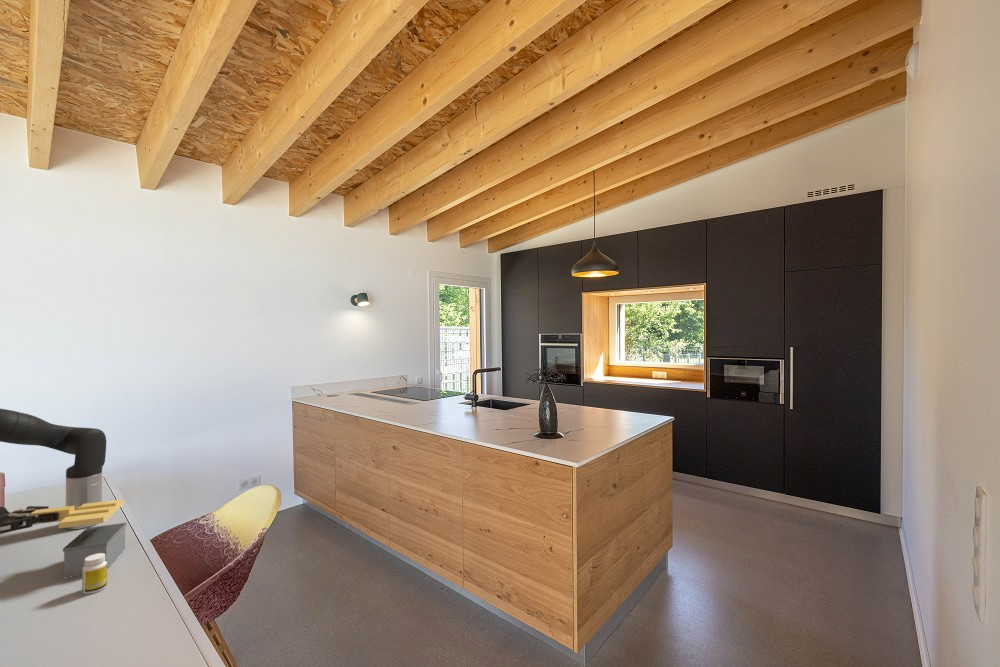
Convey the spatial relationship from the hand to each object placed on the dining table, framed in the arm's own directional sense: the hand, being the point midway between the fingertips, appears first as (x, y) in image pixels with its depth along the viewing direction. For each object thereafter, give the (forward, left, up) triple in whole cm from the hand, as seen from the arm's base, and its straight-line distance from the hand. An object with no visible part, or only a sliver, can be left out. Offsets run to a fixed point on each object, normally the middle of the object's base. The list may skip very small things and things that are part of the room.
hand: (60, 514), depth 126 cm
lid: (0, +3, -1) cm, 3 cm away
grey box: (0, +8, -15) cm, 17 cm away
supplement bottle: (+17, +14, -15) cm, 27 cm away
